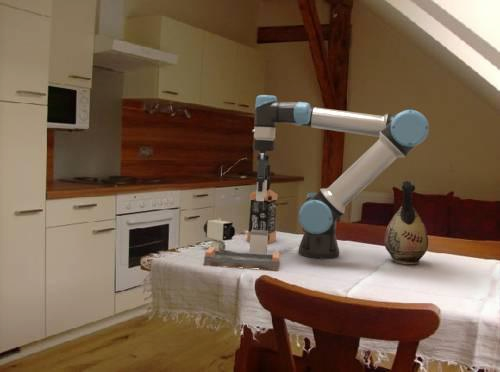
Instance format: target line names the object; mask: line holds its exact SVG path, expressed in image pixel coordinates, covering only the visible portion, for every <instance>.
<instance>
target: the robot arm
mask: <svg viewBox="0 0 500 372" xmlns="http://www.w3.org/2000/svg"><path fill="white" fill-rule="evenodd" d="M276 124H287V125H288V124H289V125H291V124H292V125H294V126H296V127H306V128H314V129H320V130H329V131H335V132H343V133H348V134H354V135H355V134H356V135H364V136H370V137H376V138H377V137H378V138H379V139H377V141H375V142H374V144H373V145H372V146H370V147H369V148H368V149H367V150H366V151H365V152H364V153H363V154H362V155H361V156H360V157H358V159H357V160H356V161H355V162H353V164H351V166H349V167H348V168H347V169H346V170H345V171H344V172H343V173H342V174H341V175H340V176H339V177H338V178H337V179H336V180H335V181H333V182H332V184H331V185H329V186H328V187H327V188H320V189H319V190H318V191H316V192H309V193H307V195H306V198H305V201H306V202H304V203H303V204H302V205H301V206H300V208H299V212H298V222H299V225H301V227H302V229H304V231H303V232H304V233H303V236H302V238H301V240H300V244H299V246H298V252H297V253H298V254H299V255H300V256H303V257H307V258H312V259H313V258H314V259H322V260H326V259H329V260H330V259H336V258H339V257H340V249H339V244H338V240H337V235H336V232H337V231H336V230H337V221H338V220H339V219H340V218H341V217H342V216H343V215H344V214H345V209H346V206H347V205H348V204H350V203H351V202H352V201H353V199H355V198H356V197H357V196H358V195H359V194H360V193H361V192H362V191H363V190H364V189H365V188H367V186H369V185H371V184H372V182H373V181H374V180H375V179H376V178H377V177H378V176H379V175H381V173H383V172H384V171H385V170H386V169H387V168H388V167H389V166H390V165H391V164H392V163H393V162H394V161H396V159H399V158H406V157H407V156H408V155H409V154H410V153H411V152H413V150H414V149H415V148H416V147H417V146H418V145H421V144H422V143H423V142H424V141H425V140H426V139H427V137H428V134H429V133H430V125H429V122H428V119H427V118H426V116H425V115H424V114H422V112H420V111H417V110H414V109H404V110H402V111H401V112H399V113H396V114H395V113H393V114H392V113H391V114H390V113H385V114H384V115H378V114H371V113H363V112H354V111H353V112H352V111H346V110H338V109H331V108H322V107H314V106H311V104H310V103H309V102H303V101H278V98H277V96H276V95H270V94H268V95H267V94H260V95H258V96H256V98H255V106H254V127H253V128H254V129H252V131H251V132H252V133H253V143H252V147H253V148H252V150H254V151H259V153H258V155H257V157H256V159H257V173H256V178H254V183H256V190H255V191H256V201H264V198H266V193H267V180H269V177H268V175H267V168H268V165H269V162H270V161H269V160H270V155H269V152H274V151H275V146H276V145H275V139H276V130H277V129H276Z"/></svg>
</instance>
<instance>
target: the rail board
mask: <svg viewBox="0 0 500 372" xmlns="http://www.w3.org/2000/svg"><path fill="white" fill-rule="evenodd" d="M215 250H216V247H211V246H209V247H208V249H207V250H205V253H204V257H203V259H204V260H203V266H206V265H210V266H209V267H218V266H227V267H226V268H231V267H243V268H242V269H244V268H259V269H265V270H264V271H269V272H270V271H272V272H278V271H279V266H280V254H281V253H280V251H273V253H272V254H267V255H264V254H250V253H249V252H236V251H235V252H234V251H225V250H224V251H215Z"/></svg>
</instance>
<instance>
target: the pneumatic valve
mask: <svg viewBox="0 0 500 372" xmlns="http://www.w3.org/2000/svg"><path fill="white" fill-rule="evenodd" d="M203 232H204V233H205V238H209V239H212V240H213V241H211V243H210V247H216V250H215V251H224V252H225V249H226V242H225V241H230V240H232V239H233V238H234V236H235V233H236V229H235V227H234V222H233V221H232V222H231V221H225V220H222V218H220V217H219V218H218V219H209V220H206V222H205V223H204V225H203Z"/></svg>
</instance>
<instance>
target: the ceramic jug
mask: <svg viewBox="0 0 500 372" xmlns="http://www.w3.org/2000/svg"><path fill="white" fill-rule="evenodd" d="M401 190H402V193H403V194H402V195H403V196H402V198H403V200H402V204H401V206H400V207H399V208H398V210H397V212H396V213H395V214H393V216H392V217H391V220H390V221H389V222H388V225H387V227H386V230H385V234H384V238H383V239H384V241H383V242H384V247H385V249H386V251H387V252H388V254H389V255H390V257H391V259H392V261H393V260H394V261H395V262H394V263H396V262H397V263H396V264H399V263H401V264H400V265H419V264H420V259H422V258H423V257H424V256H425V254H427V250H428V249H429V248H428V247H429V235H428V232H427V228H426V226H425V224H424V221H423V220H422V218H421V217H420V216H419V214H418V211H417V210H416V209H415V208H414V205H413V192H415V190H416V186H415V185H414V184H412V183H411V181H409V180H405V181H403V182H402V186H401ZM418 263H419V264H418Z"/></svg>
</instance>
